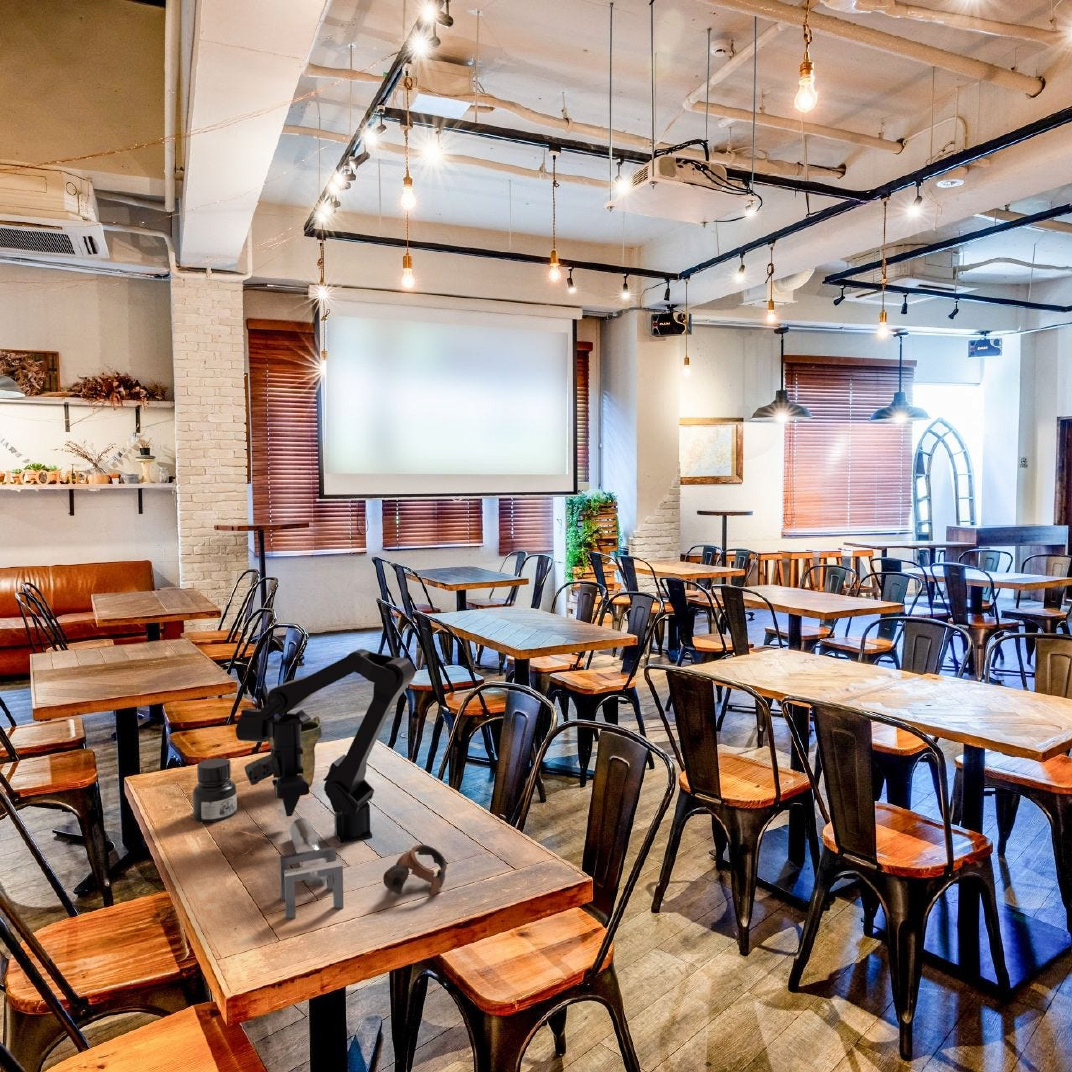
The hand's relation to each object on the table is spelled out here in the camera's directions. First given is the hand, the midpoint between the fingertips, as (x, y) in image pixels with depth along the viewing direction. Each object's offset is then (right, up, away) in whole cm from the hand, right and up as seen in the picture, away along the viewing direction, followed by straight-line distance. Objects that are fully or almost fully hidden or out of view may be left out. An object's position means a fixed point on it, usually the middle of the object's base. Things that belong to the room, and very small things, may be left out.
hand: (289, 815), depth 170 cm
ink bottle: (-19, -3, +8) cm, 21 cm away
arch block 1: (+12, -5, -27) cm, 30 cm away
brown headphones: (+28, -6, -26) cm, 39 cm away
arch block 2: (+15, -5, -34) cm, 37 cm away
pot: (-6, -2, +24) cm, 25 cm away
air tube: (+7, -3, -15) cm, 17 cm away
